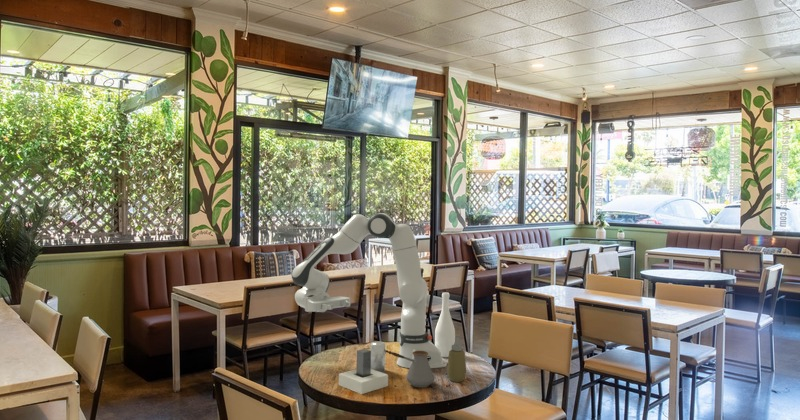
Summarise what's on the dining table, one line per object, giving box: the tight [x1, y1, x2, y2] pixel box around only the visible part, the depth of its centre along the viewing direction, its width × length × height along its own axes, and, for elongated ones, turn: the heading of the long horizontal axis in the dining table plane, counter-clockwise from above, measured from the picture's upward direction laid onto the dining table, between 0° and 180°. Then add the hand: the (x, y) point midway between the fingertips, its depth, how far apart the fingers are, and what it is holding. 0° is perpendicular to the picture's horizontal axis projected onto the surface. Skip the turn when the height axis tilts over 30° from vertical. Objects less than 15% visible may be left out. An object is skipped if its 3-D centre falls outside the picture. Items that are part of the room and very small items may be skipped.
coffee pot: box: [383, 349, 435, 388], centre depth 226 cm, size 21×12×15 cm, turn 108°
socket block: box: [338, 368, 389, 395], centre depth 225 cm, size 14×14×4 cm
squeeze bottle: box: [446, 336, 467, 383], centre depth 233 cm, size 8×8×18 cm
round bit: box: [369, 340, 386, 373], centre depth 244 cm, size 7×7×12 cm
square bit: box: [356, 348, 371, 378], centre depth 225 cm, size 4×4×14 cm
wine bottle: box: [434, 291, 456, 358], centre depth 269 cm, size 10×10×30 cm
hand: (340, 306), depth 240 cm, fingers open, 8 cm apart
